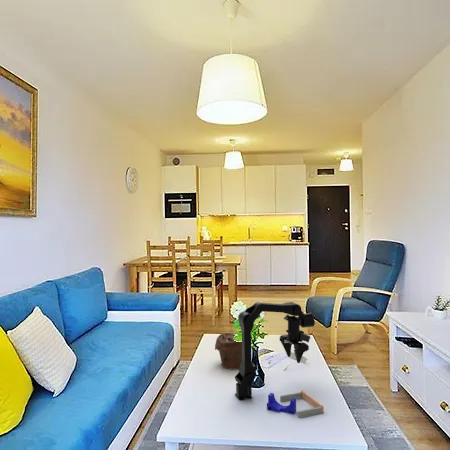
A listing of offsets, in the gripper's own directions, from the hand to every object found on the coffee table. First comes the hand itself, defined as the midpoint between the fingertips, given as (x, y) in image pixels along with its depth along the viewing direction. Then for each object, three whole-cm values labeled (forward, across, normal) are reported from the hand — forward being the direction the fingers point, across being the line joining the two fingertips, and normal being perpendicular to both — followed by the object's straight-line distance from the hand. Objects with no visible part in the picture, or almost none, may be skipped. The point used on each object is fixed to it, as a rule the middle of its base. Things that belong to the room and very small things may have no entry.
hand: (293, 359), depth 199 cm
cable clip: (+15, -18, +16) cm, 28 cm away
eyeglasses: (+15, +31, -14) cm, 37 cm away
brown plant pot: (+15, +41, +16) cm, 47 cm away
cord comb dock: (+14, -18, +7) cm, 24 cm away
